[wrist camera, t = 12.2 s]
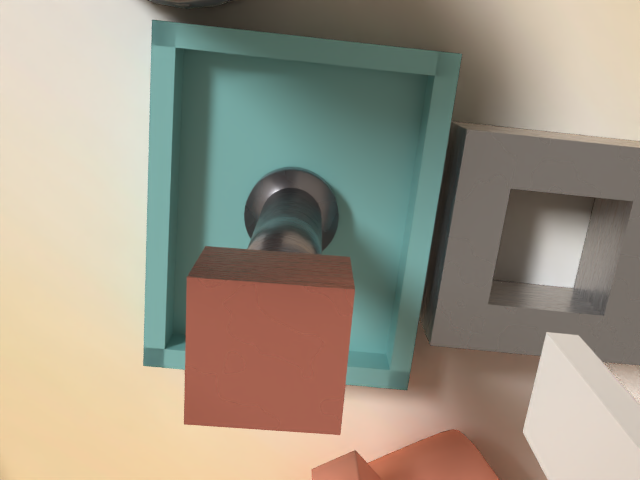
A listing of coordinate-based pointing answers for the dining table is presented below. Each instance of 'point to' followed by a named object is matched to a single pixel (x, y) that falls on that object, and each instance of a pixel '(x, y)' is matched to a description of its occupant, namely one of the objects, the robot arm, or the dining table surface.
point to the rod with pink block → (272, 315)
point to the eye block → (485, 234)
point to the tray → (297, 151)
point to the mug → (190, 3)
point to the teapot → (414, 462)
